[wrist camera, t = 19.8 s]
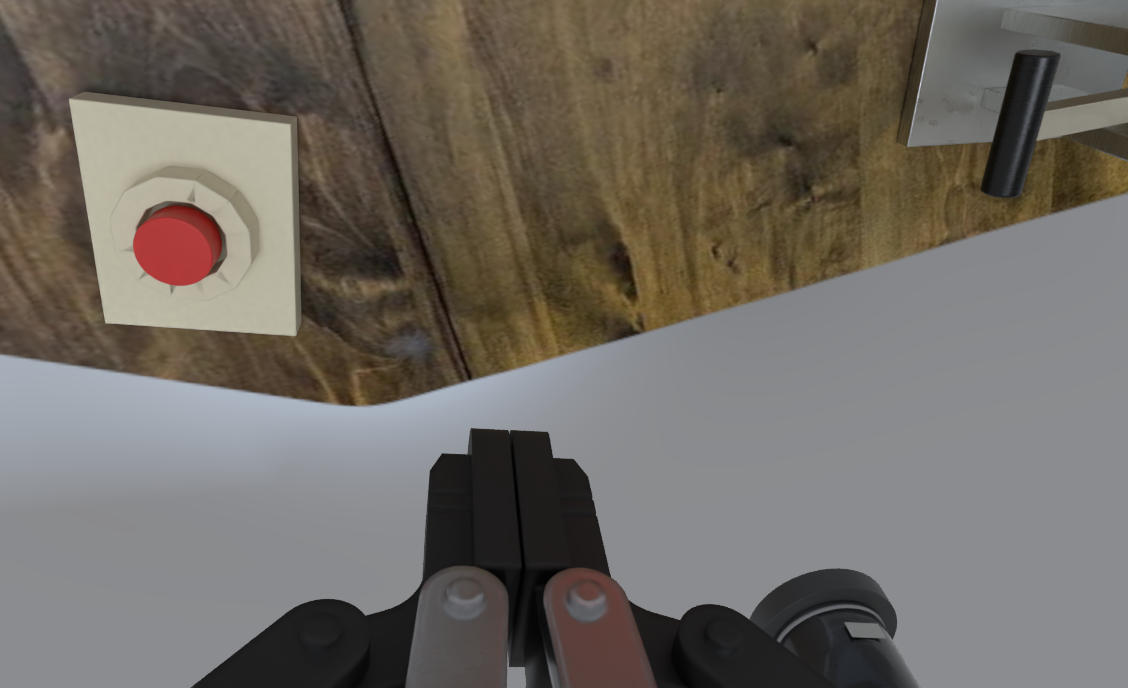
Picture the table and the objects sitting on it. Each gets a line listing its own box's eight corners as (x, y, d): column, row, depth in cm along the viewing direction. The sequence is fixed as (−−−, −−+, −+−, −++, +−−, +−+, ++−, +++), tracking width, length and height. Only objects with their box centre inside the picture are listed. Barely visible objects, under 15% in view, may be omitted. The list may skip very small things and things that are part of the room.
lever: (961, 186, 30) (1014, 204, 28) (994, 49, 28) (1055, 58, 26) (1150, 145, 35) (1208, 158, 33) (1194, 23, 32) (1259, 29, 30)
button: (224, 274, 39) (215, 289, 38) (149, 268, 38) (137, 283, 37) (219, 208, 37) (209, 221, 36) (141, 201, 37) (127, 213, 35)
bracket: (896, 141, 43) (1046, 220, 32) (930, -34, 39) (1118, -13, 28) (1091, 129, 44) (1301, 201, 33) (1146, -43, 40) (1411, -26, 29)
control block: (301, 322, 44) (290, 352, 41) (116, 309, 42) (90, 339, 39) (297, 116, 39) (283, 133, 36) (83, 91, 37) (50, 106, 34)
